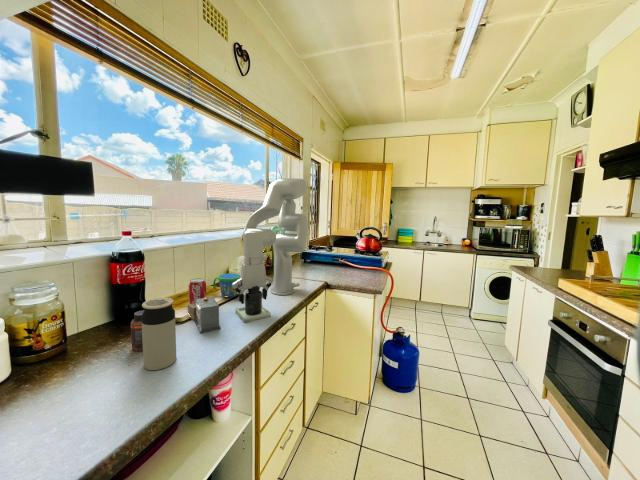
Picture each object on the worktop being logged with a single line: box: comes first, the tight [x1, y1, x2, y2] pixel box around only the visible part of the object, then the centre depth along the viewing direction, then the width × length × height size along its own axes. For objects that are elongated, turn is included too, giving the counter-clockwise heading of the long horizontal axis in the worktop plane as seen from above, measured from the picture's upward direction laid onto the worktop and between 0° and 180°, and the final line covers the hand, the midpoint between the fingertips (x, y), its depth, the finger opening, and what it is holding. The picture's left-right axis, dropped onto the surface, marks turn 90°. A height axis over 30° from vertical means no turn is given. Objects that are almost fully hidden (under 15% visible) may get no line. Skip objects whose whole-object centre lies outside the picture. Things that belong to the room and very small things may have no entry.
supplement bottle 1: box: [130, 309, 144, 352], centre depth 81 cm, size 6×6×11 cm
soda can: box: [188, 277, 207, 305], centre depth 114 cm, size 7×7×12 cm
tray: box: [235, 304, 272, 323], centre depth 108 cm, size 11×11×2 cm
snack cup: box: [212, 272, 240, 298], centre depth 129 cm, size 16×10×10 cm
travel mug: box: [141, 297, 177, 371], centre depth 73 cm, size 8×8×18 cm
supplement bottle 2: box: [244, 286, 263, 316], centre depth 108 cm, size 7×7×12 cm
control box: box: [194, 296, 222, 334], centre depth 97 cm, size 7×11×10 cm, turn 34°
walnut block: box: [187, 303, 197, 321], centre depth 104 cm, size 5×5×5 cm
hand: (253, 300), depth 108 cm, fingers open, 9 cm apart
